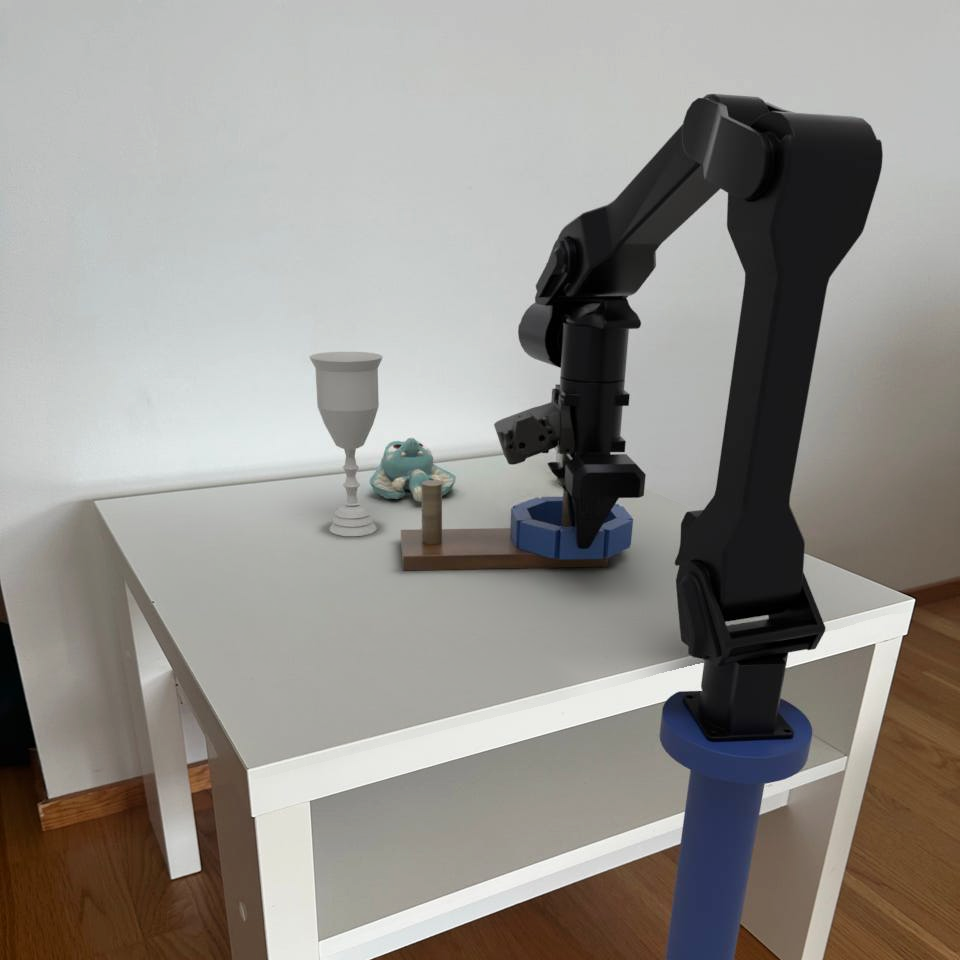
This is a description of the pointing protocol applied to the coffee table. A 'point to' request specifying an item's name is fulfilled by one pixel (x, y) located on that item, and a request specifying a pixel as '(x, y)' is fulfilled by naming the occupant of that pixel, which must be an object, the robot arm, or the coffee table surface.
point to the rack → (471, 543)
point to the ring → (566, 531)
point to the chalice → (348, 422)
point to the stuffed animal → (408, 470)
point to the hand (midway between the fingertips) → (581, 544)
